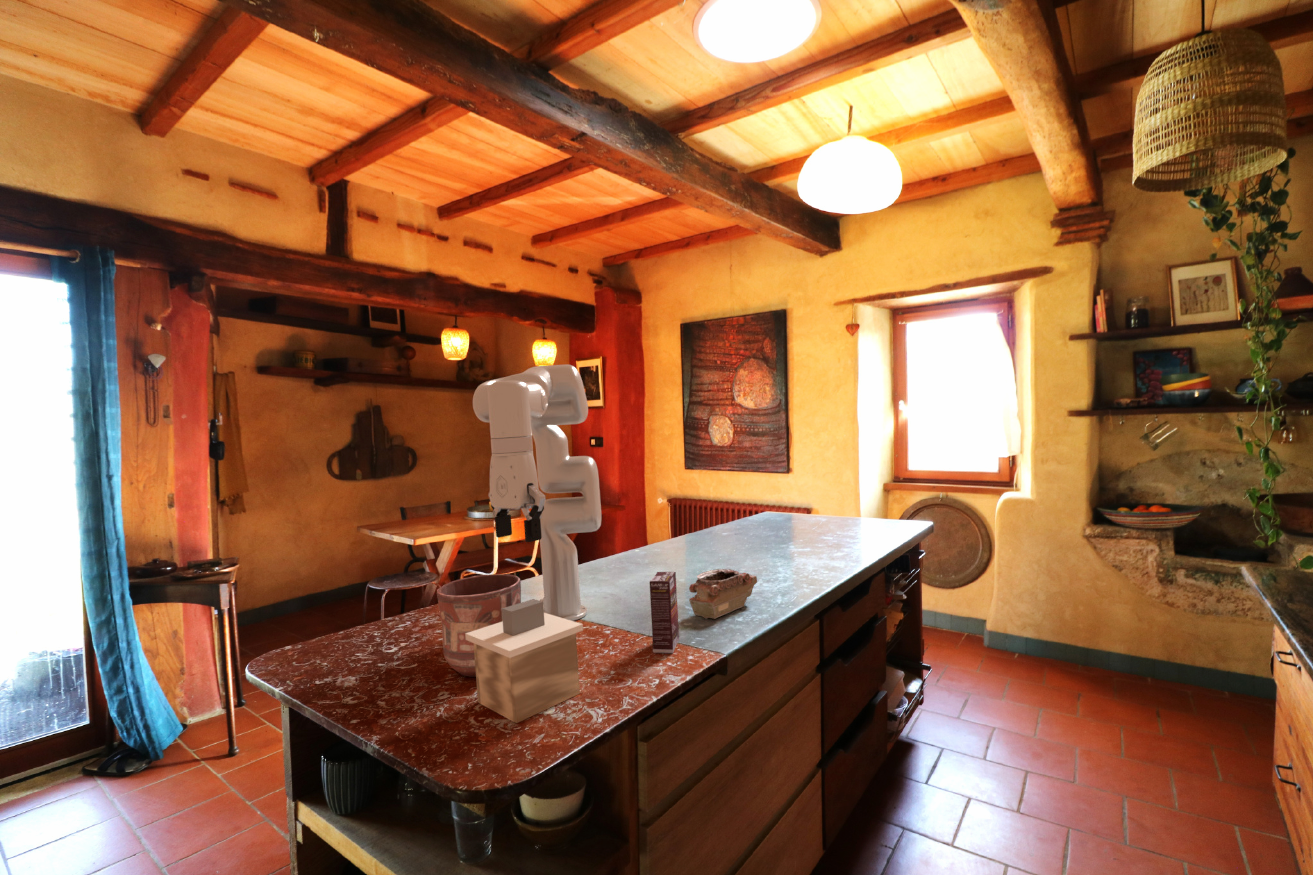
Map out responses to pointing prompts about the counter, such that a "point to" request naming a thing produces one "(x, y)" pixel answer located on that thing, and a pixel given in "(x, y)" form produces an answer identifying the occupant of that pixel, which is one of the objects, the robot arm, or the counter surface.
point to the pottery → (473, 613)
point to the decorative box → (720, 592)
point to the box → (527, 678)
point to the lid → (523, 629)
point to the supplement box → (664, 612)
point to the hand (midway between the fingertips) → (518, 538)
